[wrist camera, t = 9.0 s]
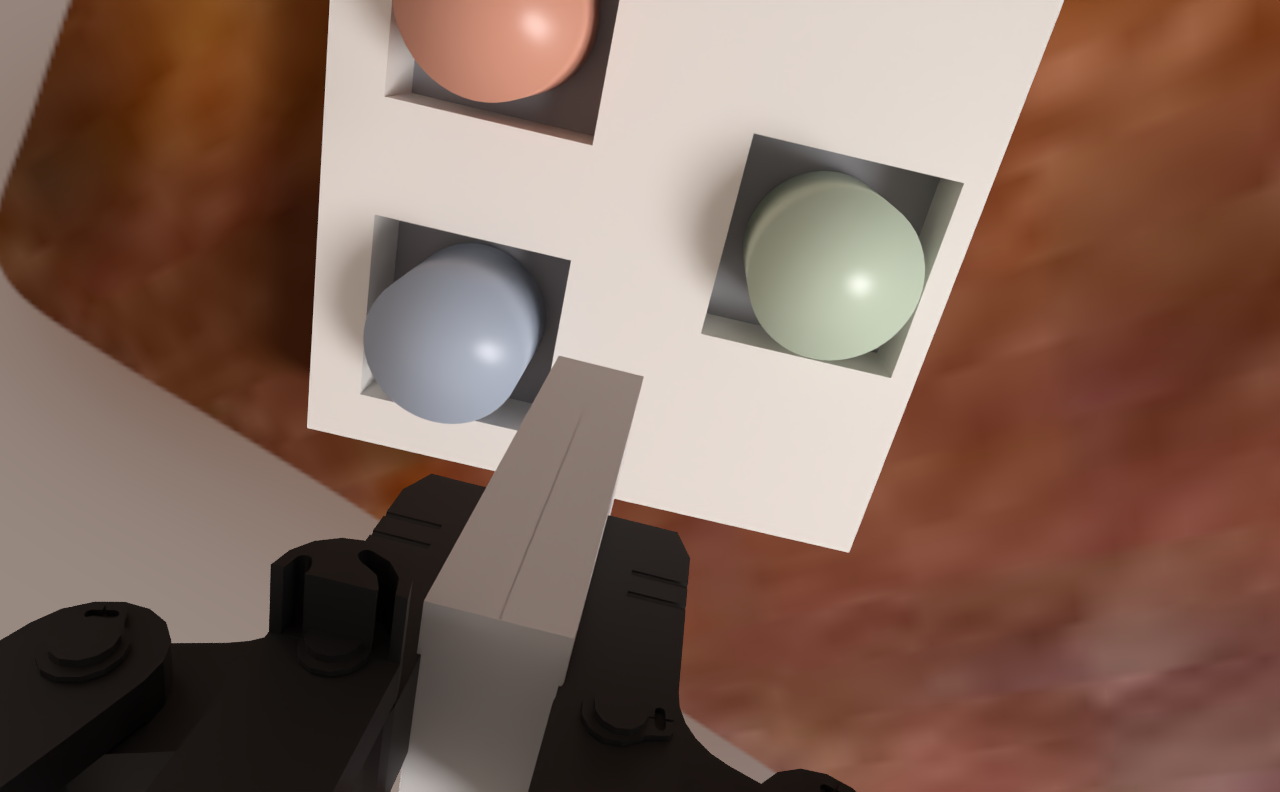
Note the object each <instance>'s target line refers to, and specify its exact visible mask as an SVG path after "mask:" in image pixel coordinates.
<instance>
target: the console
mask: <svg viewBox="0 0 1280 792" xmlns="http://www.w3.org/2000/svg"><path fill="white" fill-rule="evenodd" d="M599 1H600V19H599V28H598V32H597V36H596V40H595V42H594V45H593V48H592V50H591V52H590V54H589V56H588V58H587V60H586V61H585V62H584V64H583V65H582V67H581V68H580V69H579V70H578V71H577V72H576V73H575V75H574V76H572V77H571V78H570V79H569V80H568V81H566V82H565V83H564V84H562V85H560V86H559V87H557V88H555V89H553V90H550V91H548V92H545V93H541V94H537V95H533V96H529V97H525V98H521V99H516V100H512V101H507V102H499V103H487V102H480V101H473V100H470V99H467V98H464V97H461V96H459V95H457V94H454V93H452V92H450V91H449V90H447V89H445V88H444V87H442V86H441V85H439V84H438V83H437V82H436V81H434V80H433V79H432V78H431V77H430V76H429V75H428V74H427V73H426V72H425V71H424V70H423V69H422V68H421V67H420V66H419V64H418V63H417V62H416V60H415V59H414V58H413V56H412V55H411V53H410V51H409V50H408V48H407V46H406V44H405V42H404V40H403V38H402V36H401V33H400V31H399V28H398V24H397V21H396V17H395V13H394V8H393V0H330V6H329V25H328V44H327V63H326V81H325V100H324V119H323V138H322V157H321V176H320V195H319V213H318V232H317V251H316V270H315V289H314V308H313V326H312V345H311V364H310V383H309V402H308V421H307V428H310V429H315V430H319V431H323V432H328V433H332V434H336V435H341V436H345V437H349V438H354V439H358V440H362V441H367V442H371V443H375V444H380V445H384V446H388V447H393V448H397V449H401V450H406V451H410V452H414V453H419V454H423V455H427V456H432V457H436V458H440V459H445V460H449V461H453V462H458V463H462V464H467V465H471V466H475V467H480V468H484V469H488V470H493V471H496V469H497V467H498V465H499V463H500V462H501V460H502V458H503V456H504V454H505V453H506V451H507V449H508V447H509V445H510V443H511V442H512V440H513V438H514V436H515V434H516V433H517V431H518V429H519V427H520V425H521V423H522V422H523V420H524V418H525V416H526V414H527V413H528V411H529V409H530V407H531V405H532V403H533V402H534V400H535V398H536V396H537V394H538V393H539V391H540V389H541V387H542V385H543V383H544V382H545V380H546V378H547V376H548V374H549V373H550V371H551V369H552V367H553V365H554V363H555V362H556V360H557V358H558V356H563V357H567V358H571V359H575V360H579V361H583V362H587V363H591V364H595V365H599V366H603V367H608V368H612V369H616V370H620V371H624V372H628V373H632V374H636V375H640V376H644V378H643V382H642V387H641V391H640V395H639V399H638V403H637V407H636V411H635V415H634V419H633V423H632V428H631V432H630V436H629V440H628V444H627V448H626V452H625V456H624V460H623V464H622V468H621V473H620V477H619V481H618V485H617V489H616V493H615V497H614V499H618V500H623V501H627V502H632V503H636V504H640V505H645V506H649V507H653V508H658V509H662V510H666V511H671V512H675V513H679V514H684V515H688V516H692V517H697V518H701V519H705V520H710V521H714V522H718V523H723V524H727V525H731V526H736V527H740V528H744V529H749V530H753V531H757V532H762V533H766V534H770V535H775V536H779V537H783V538H788V539H792V540H796V541H801V542H805V543H810V544H814V545H818V546H823V547H827V548H831V549H836V550H840V551H844V552H849V551H850V549H851V546H852V544H853V541H854V538H855V536H856V533H857V531H858V528H859V526H860V523H861V520H862V518H863V515H864V513H865V510H866V508H867V505H868V502H869V500H870V497H871V495H872V492H873V490H874V487H875V484H876V482H877V479H878V477H879V474H880V472H881V469H882V467H883V464H884V461H885V459H886V456H887V454H888V451H889V449H890V446H891V443H892V441H893V438H894V436H895V433H896V431H897V428H898V425H899V423H900V420H901V418H902V415H903V413H904V410H905V407H906V405H907V402H908V400H909V397H910V395H911V392H912V390H913V387H914V384H915V382H916V379H917V377H918V374H919V372H920V369H921V366H922V364H923V361H924V359H925V356H926V354H927V351H928V348H929V346H930V343H931V341H932V338H933V336H934V333H935V330H936V328H937V325H938V323H939V320H940V318H941V315H942V312H943V310H944V307H945V305H946V302H947V300H948V297H949V295H950V292H951V289H952V287H953V284H954V282H955V279H956V277H957V274H958V271H959V269H960V266H961V264H962V261H963V259H964V256H965V253H966V251H967V248H968V246H969V243H970V241H971V238H972V235H973V233H974V230H975V228H976V225H977V223H978V220H979V218H980V215H981V212H982V210H983V207H984V205H985V202H986V200H987V197H988V194H989V192H990V189H991V187H992V184H993V182H994V179H995V176H996V174H997V171H998V169H999V166H1000V164H1001V161H1002V158H1003V156H1004V153H1005V151H1006V148H1007V146H1008V143H1009V141H1010V138H1011V135H1012V133H1013V130H1014V128H1015V125H1016V123H1017V120H1018V117H1019V115H1020V112H1021V110H1022V107H1023V105H1024V102H1025V99H1026V97H1027V94H1028V92H1029V89H1030V87H1031V84H1032V81H1033V79H1034V76H1035V74H1036V71H1037V69H1038V66H1039V63H1040V61H1041V58H1042V56H1043V53H1044V51H1045V48H1046V46H1047V43H1048V40H1049V38H1050V35H1051V33H1052V30H1053V28H1054V25H1055V22H1056V20H1057V17H1058V15H1059V12H1060V10H1061V7H1062V4H1063V2H1064V0H599ZM816 171H833V172H839V173H843V174H847V175H850V176H852V177H855V178H857V179H859V180H861V181H862V182H864V183H865V184H867V185H868V186H869V187H871V188H872V189H873V190H874V191H876V192H877V193H878V194H879V195H880V196H882V197H883V198H884V199H885V200H886V201H888V202H889V203H890V204H891V205H892V206H894V207H895V208H896V209H897V210H898V211H899V212H900V213H902V214H903V215H904V216H905V218H906V219H907V220H908V221H909V222H910V224H911V225H912V227H913V228H914V230H915V232H916V233H917V236H918V238H919V240H920V243H921V246H922V250H923V253H924V261H925V278H924V285H923V289H922V293H921V296H920V299H919V301H918V304H917V306H916V308H915V310H914V312H913V313H912V315H911V317H910V318H909V320H908V321H907V322H906V323H905V325H904V326H903V327H902V328H901V329H900V330H899V331H898V332H897V333H896V334H895V335H894V336H893V337H892V338H891V339H889V340H888V341H887V342H886V343H884V344H883V345H881V346H879V347H878V348H876V349H874V350H872V351H870V352H868V353H865V354H863V355H860V356H856V357H853V358H848V359H843V360H818V359H812V358H808V357H804V356H801V355H798V354H796V353H794V352H791V351H789V350H788V349H786V348H784V347H783V346H781V345H780V344H779V343H777V342H776V341H775V340H774V339H772V338H771V336H770V335H769V334H768V333H767V332H766V331H765V330H764V328H763V327H762V326H761V324H760V323H759V321H758V319H757V317H756V315H755V313H754V311H753V308H752V305H751V301H750V296H749V291H748V285H747V279H746V274H745V268H744V262H743V239H744V234H745V230H746V227H747V224H748V221H749V219H750V217H751V215H752V213H753V212H754V210H755V209H756V207H757V205H758V204H759V203H760V202H761V200H762V199H763V198H764V197H765V196H766V195H767V194H768V193H769V192H770V191H771V190H773V189H774V188H775V187H777V186H778V185H779V184H781V183H783V182H784V181H786V180H788V179H790V178H793V177H795V176H798V175H800V174H805V173H809V172H816ZM465 243H474V244H482V245H487V246H490V247H494V248H496V249H499V250H501V251H503V252H505V253H507V254H508V255H510V256H512V257H513V258H514V259H516V260H517V261H518V262H519V263H521V264H522V265H523V266H524V267H525V268H526V269H527V271H528V272H529V273H530V274H531V276H532V277H533V279H534V280H535V282H536V284H537V285H538V287H539V290H540V292H541V294H542V298H543V301H544V306H545V314H546V322H545V330H544V334H543V338H542V340H541V342H540V345H539V347H538V348H537V350H536V352H535V354H534V355H533V357H532V359H531V360H530V362H529V364H528V366H527V367H526V369H525V371H524V373H523V374H522V376H521V378H520V379H519V381H518V383H517V385H516V386H515V388H514V390H513V391H512V393H511V395H510V396H509V398H508V399H507V400H506V401H505V402H504V403H503V404H502V405H501V406H500V407H499V408H498V409H497V410H495V411H494V412H492V413H491V414H489V415H487V416H485V417H483V418H481V419H478V420H475V421H472V422H467V423H461V424H443V423H437V422H432V421H429V420H425V419H423V418H420V417H418V416H415V415H413V414H411V413H410V412H408V411H406V410H404V409H403V408H402V407H400V406H399V405H397V404H396V403H395V402H394V401H393V400H392V399H391V398H389V397H388V396H387V394H386V393H385V392H384V391H383V390H382V389H381V387H380V386H379V384H378V383H377V382H376V380H375V378H374V376H373V375H372V373H371V371H370V368H369V366H368V363H367V360H366V356H365V351H364V343H363V335H364V326H365V322H366V318H367V315H368V313H369V311H370V308H371V306H372V305H373V303H374V302H375V300H376V299H377V297H378V296H379V295H380V294H381V293H382V292H383V291H384V290H385V289H386V288H388V287H389V286H390V285H391V284H393V283H394V282H396V281H397V280H398V279H400V278H401V277H402V276H404V275H405V274H406V273H408V272H409V271H411V270H412V269H413V268H415V267H416V266H417V265H419V264H420V263H422V262H423V261H424V260H426V259H427V258H428V257H430V256H431V255H433V254H434V253H436V252H438V251H439V250H441V249H444V248H446V247H449V246H452V245H457V244H465Z"/></svg>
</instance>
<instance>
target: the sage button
mask: <svg viewBox="0 0 1280 792" xmlns="http://www.w3.org/2000/svg"><path fill="white" fill-rule="evenodd" d="M743 262H744V268H745V274H746V279H747V285H748V291H749V296H750V301H751V305H752V308H753V311H754V313H755V315H756V317H757V319H758V321H759V323H760V324H761V326H762V327H763V328H764V330H765V331H766V332H767V333H768V334H769V335H770V336H771V338H772V339H774V340H775V341H776V342H777V343H779V344H780V345H781V346H783V347H784V348H786V349H788V350H789V351H791V352H794V353H796V354H798V355H801V356H804V357H808V358H812V359H818V360H843V359H848V358H853V357H856V356H860V355H863V354H865V353H868V352H870V351H872V350H874V349H876V348H878V347H879V346H881V345H883V344H884V343H886V342H887V341H888V340H889V339H891V338H892V337H893V336H894V335H895V334H896V333H897V332H898V331H899V330H900V329H901V328H902V327H903V326H904V325H905V323H906V322H907V321H908V320H909V318H910V317H911V315H912V313H913V312H914V310H915V308H916V306H917V304H918V301H919V299H920V296H921V293H922V289H923V285H924V278H925V261H924V253H923V250H922V246H921V243H920V240H919V238H918V236H917V233H916V232H915V230H914V228H913V227H912V225H911V224H910V222H909V221H908V220H907V219H906V218H905V216H904V215H903V214H902V213H900V212H899V211H898V210H897V209H896V208H895V207H894V206H892V205H891V204H890V203H889V202H888V201H886V200H885V199H884V198H883V197H882V196H880V195H879V194H878V193H877V192H876V191H874V190H873V189H872V188H871V187H869V186H868V185H867V184H865V183H864V182H862V181H861V180H859V179H857V178H855V177H852V176H850V175H847V174H843V173H839V172H833V171H816V172H809V173H805V174H800V175H798V176H795V177H793V178H790V179H788V180H786V181H784V182H783V183H781V184H779V185H778V186H777V187H775V188H774V189H773V190H771V191H770V192H769V193H768V194H767V195H766V196H765V197H764V198H763V199H762V200H761V202H760V203H759V204H758V205H757V207H756V209H755V210H754V212H753V213H752V215H751V217H750V219H749V221H748V224H747V227H746V230H745V234H744V239H743Z"/></svg>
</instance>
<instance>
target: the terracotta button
mask: <svg viewBox="0 0 1280 792" xmlns="http://www.w3.org/2000/svg"><path fill="white" fill-rule="evenodd" d="M393 8H394V13H395V17H396V21H397V24H398V28H399V31H400V33H401V36H402V38H403V40H404V42H405V44H406V46H407V48H408V50H409V51H410V53H411V55H412V56H413V58H414V59H415V60H416V62H417V63H418V64H419V66H420V67H421V68H422V69H423V70H424V71H425V72H426V73H427V74H428V75H429V76H430V77H431V78H432V79H433V80H434V81H436V82H437V83H438V84H439V85H441V86H442V87H444V88H445V89H447V90H449V91H450V92H452V93H454V94H457V95H459V96H461V97H464V98H467V99H470V100H473V101H480V102H487V103H499V102H507V101H512V100H516V99H521V98H525V97H529V96H533V95H537V94H541V93H545V92H548V91H550V90H553V89H555V88H557V87H559V86H560V85H562V84H564V83H565V82H566V81H568V80H569V79H570V78H571V77H572V76H574V75H575V73H576V72H577V71H578V70H579V69H580V68H581V67H582V65H583V64H584V62H585V61H586V60H587V58H588V56H589V54H590V52H591V50H592V48H593V45H594V42H595V40H596V36H597V32H598V28H599V19H600V1H599V0H393Z"/></svg>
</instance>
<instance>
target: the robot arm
mask: <svg viewBox="0 0 1280 792" xmlns="http://www.w3.org/2000/svg"><path fill="white" fill-rule="evenodd" d="M643 378H644V376H640V375H636V374H632V373H628V372H624V371H620V370H616V369H612V368H608V367H603V366H599V365H595V364H591V363H587V362H583V361H579V360H575V359H571V358H567V357H563V356H558V358H557V360H556V362H555V363H554V365H553V367H552V369H551V371H550V373H549V374H548V376H547V378H546V380H545V382H544V383H543V385H542V387H541V389H540V391H539V393H538V394H537V396H536V398H535V400H534V402H533V403H532V405H531V407H530V409H529V411H528V413H527V414H526V416H525V418H524V420H523V422H522V423H521V425H520V427H519V429H518V431H517V433H516V434H515V436H514V438H513V440H512V442H511V443H510V445H509V447H508V449H507V451H506V453H505V454H504V456H503V458H502V460H501V462H500V463H499V465H498V467H497V469H496V471H495V473H494V474H493V476H492V478H491V480H490V482H489V483H488V485H487V487H482V486H478V485H474V484H470V483H466V482H462V481H458V480H454V479H450V478H446V477H442V476H438V475H434V474H430V475H428V476H427V477H425V478H423V479H421V480H419V481H417V482H416V483H414V484H412V485H410V486H408V487H406V488H405V489H403V490H402V492H401V493H400V494H399V496H398V497H397V498H396V500H395V501H394V503H393V504H392V505H391V507H390V508H389V509H388V511H387V514H386V516H383V518H382V519H381V520H380V522H379V523H378V524H377V526H376V527H375V529H374V530H373V534H372V535H369V537H368V538H367V539H366V541H363V540H354V539H346V538H339V539H329V540H320V541H314V542H311V543H308V544H305V545H303V546H300V547H297V548H294V549H292V550H289V551H288V552H287V553H285V554H284V555H283V556H282V557H280V558H279V559H278V560H277V561H275V562H274V563H272V564H271V580H270V581H271V583H270V616H269V617H270V618H269V632H268V634H267V635H266V636H265V637H264V638H260V639H256V640H252V641H245V642H233V643H171V638H170V635H169V631H168V628H167V624H166V622H165V621H164V620H163V619H161V618H160V617H159V616H158V615H156V614H155V613H154V612H153V611H151V610H150V609H148V608H144V607H140V606H137V605H133V604H130V603H127V602H92V603H87V604H82V605H77V606H73V607H68V608H63V609H60V610H58V611H56V612H53V613H51V614H49V615H47V616H44V617H42V618H40V619H38V620H36V621H33V622H31V623H29V624H27V625H26V626H24V627H22V628H21V629H19V630H17V631H16V632H14V633H12V634H10V635H9V636H7V637H5V638H3V639H2V640H0V792H390V791H391V788H392V786H393V784H394V782H395V780H396V777H397V775H398V773H399V771H400V769H401V767H402V770H401V778H400V785H399V792H856V791H855V790H854V789H853V788H851V787H849V786H847V785H845V784H844V783H842V782H840V781H838V780H836V779H834V778H833V777H831V776H829V775H827V774H823V773H818V772H814V771H809V770H804V769H796V770H789V771H782V772H777V773H776V774H775V775H773V776H772V777H770V778H769V779H768V780H766V781H765V782H764V783H762V784H760V783H758V782H757V781H755V780H753V779H751V778H750V777H748V776H746V775H744V774H742V773H741V772H739V771H737V770H735V769H734V768H731V767H730V766H728V765H727V764H725V763H724V762H722V761H721V760H719V759H718V758H716V757H715V756H714V755H712V754H711V753H710V752H709V751H708V750H707V749H705V747H704V746H703V745H702V744H701V743H700V742H699V741H698V740H697V739H696V738H695V737H694V735H693V734H692V732H691V731H690V729H689V728H688V726H687V725H686V723H685V721H684V718H683V715H682V712H681V710H680V705H679V681H680V669H681V657H682V645H683V634H684V622H685V607H686V598H687V585H688V575H689V563H690V557H689V555H688V553H687V551H686V549H685V547H684V545H683V543H682V541H681V539H680V537H679V535H678V533H677V532H674V531H670V530H666V529H662V528H658V527H654V526H650V525H646V524H642V523H637V522H633V521H629V520H625V519H621V518H617V517H613V516H610V513H611V509H612V505H613V501H614V497H615V493H616V489H617V485H618V481H619V477H620V473H621V468H622V464H623V460H624V456H625V452H626V448H627V444H628V440H629V436H630V432H631V428H632V423H633V419H634V415H635V411H636V407H637V403H638V399H639V395H640V391H641V387H642V382H643Z"/></svg>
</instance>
